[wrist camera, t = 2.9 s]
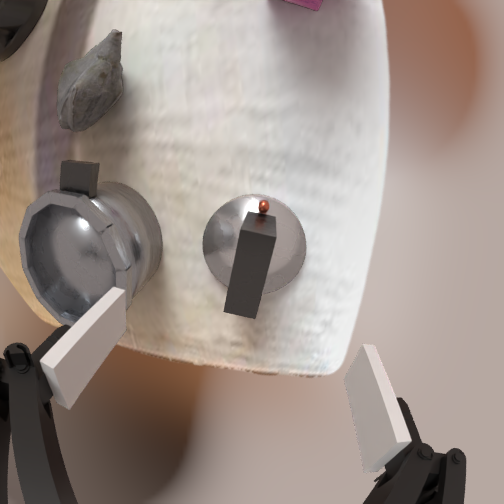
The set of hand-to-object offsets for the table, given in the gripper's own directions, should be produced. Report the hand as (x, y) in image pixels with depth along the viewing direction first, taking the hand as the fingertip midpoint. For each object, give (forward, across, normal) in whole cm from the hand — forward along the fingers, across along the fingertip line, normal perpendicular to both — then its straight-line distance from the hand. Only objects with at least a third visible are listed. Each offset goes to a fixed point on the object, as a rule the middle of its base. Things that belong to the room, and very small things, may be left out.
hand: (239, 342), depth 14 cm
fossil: (+15, -19, +14) cm, 28 cm away
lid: (+15, 0, 0) cm, 15 cm away
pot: (+15, -16, -3) cm, 22 cm away
